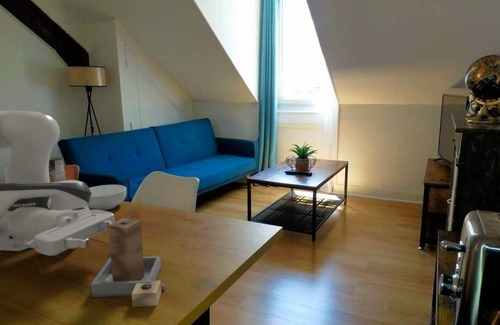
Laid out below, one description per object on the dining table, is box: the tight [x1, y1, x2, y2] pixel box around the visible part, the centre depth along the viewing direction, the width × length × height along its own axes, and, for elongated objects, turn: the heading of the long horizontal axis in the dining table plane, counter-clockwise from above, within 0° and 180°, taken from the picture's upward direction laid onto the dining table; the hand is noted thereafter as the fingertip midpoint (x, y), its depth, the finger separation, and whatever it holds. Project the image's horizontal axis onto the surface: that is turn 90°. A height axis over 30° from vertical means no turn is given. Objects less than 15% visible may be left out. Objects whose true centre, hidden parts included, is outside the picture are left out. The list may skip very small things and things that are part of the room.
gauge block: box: [131, 279, 166, 308], centre depth 77 cm, size 6×7×3 cm
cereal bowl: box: [88, 184, 127, 211], centre depth 138 cm, size 17×17×7 cm
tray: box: [90, 255, 162, 298], centre depth 83 cm, size 13×13×3 cm
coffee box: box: [49, 156, 66, 182], centre depth 157 cm, size 9×6×16 cm
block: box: [107, 217, 144, 282], centre depth 82 cm, size 5×5×14 cm
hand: (102, 235), depth 85 cm, fingers open, 8 cm apart
